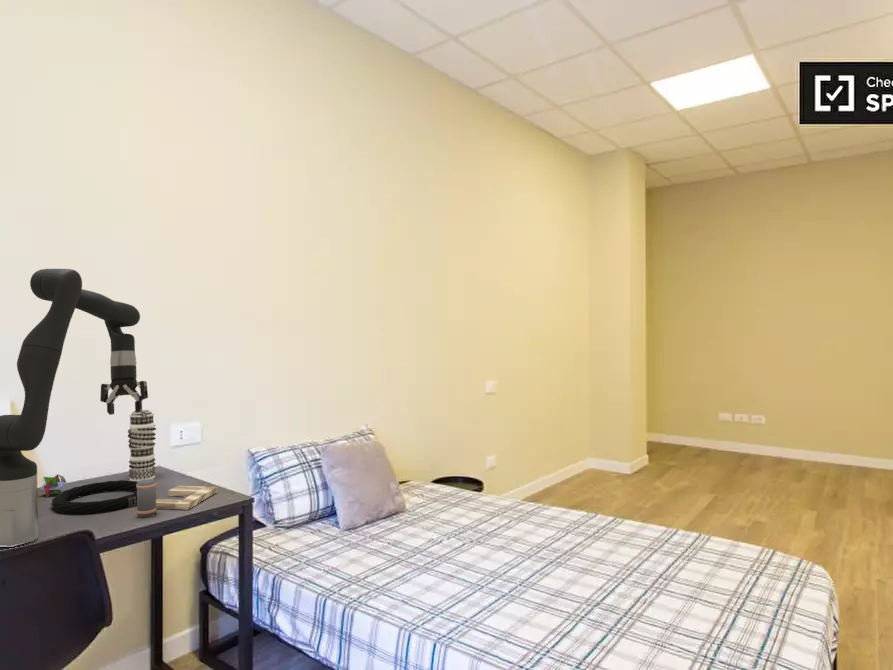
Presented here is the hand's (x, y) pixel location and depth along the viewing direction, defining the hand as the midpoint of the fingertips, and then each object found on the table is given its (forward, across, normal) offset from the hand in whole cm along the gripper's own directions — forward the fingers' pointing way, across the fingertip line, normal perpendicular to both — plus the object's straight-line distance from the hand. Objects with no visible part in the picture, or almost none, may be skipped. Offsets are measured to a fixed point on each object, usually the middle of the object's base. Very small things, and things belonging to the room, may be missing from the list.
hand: (124, 413), depth 189 cm
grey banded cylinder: (+30, +14, -18) cm, 38 cm away
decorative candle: (+25, -5, +22) cm, 34 cm away
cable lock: (+28, -5, -4) cm, 29 cm away
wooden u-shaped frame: (+29, +20, -5) cm, 36 cm away
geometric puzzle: (+25, -26, +3) cm, 36 cm away
